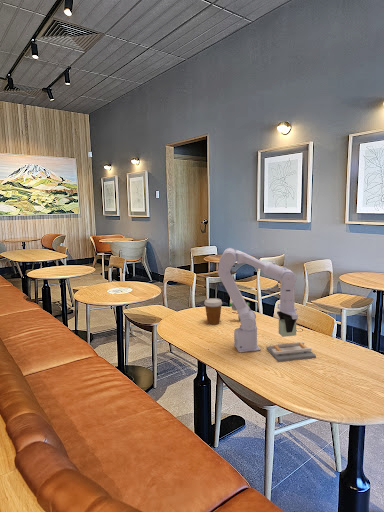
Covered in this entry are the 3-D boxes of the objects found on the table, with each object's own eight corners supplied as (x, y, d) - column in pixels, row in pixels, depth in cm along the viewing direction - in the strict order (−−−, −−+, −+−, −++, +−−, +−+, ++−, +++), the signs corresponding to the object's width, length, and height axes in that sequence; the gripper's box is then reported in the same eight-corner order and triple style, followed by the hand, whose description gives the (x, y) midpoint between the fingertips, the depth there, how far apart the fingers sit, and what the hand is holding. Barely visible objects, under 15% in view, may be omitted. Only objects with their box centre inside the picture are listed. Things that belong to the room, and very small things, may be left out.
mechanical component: (250, 321, 175) (249, 303, 174) (230, 322, 176) (230, 303, 174) (249, 319, 178) (249, 301, 177) (229, 320, 178) (229, 302, 177)
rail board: (277, 361, 131) (278, 354, 131) (266, 348, 143) (266, 342, 142) (315, 357, 134) (316, 350, 133) (301, 345, 145) (301, 338, 145)
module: (282, 336, 138) (282, 323, 137) (278, 333, 142) (278, 319, 141) (296, 335, 139) (296, 321, 138) (291, 331, 143) (291, 318, 142)
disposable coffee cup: (202, 320, 179) (201, 299, 177) (218, 318, 182) (218, 297, 180) (208, 326, 170) (207, 304, 168) (225, 324, 173) (225, 302, 171)
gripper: (305, 303, 132) (304, 335, 134) (288, 293, 146) (288, 323, 148) (288, 304, 131) (287, 337, 133) (273, 294, 145) (273, 324, 147)
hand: (286, 330), depth 140 cm, fingers closed on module, 4 cm apart
